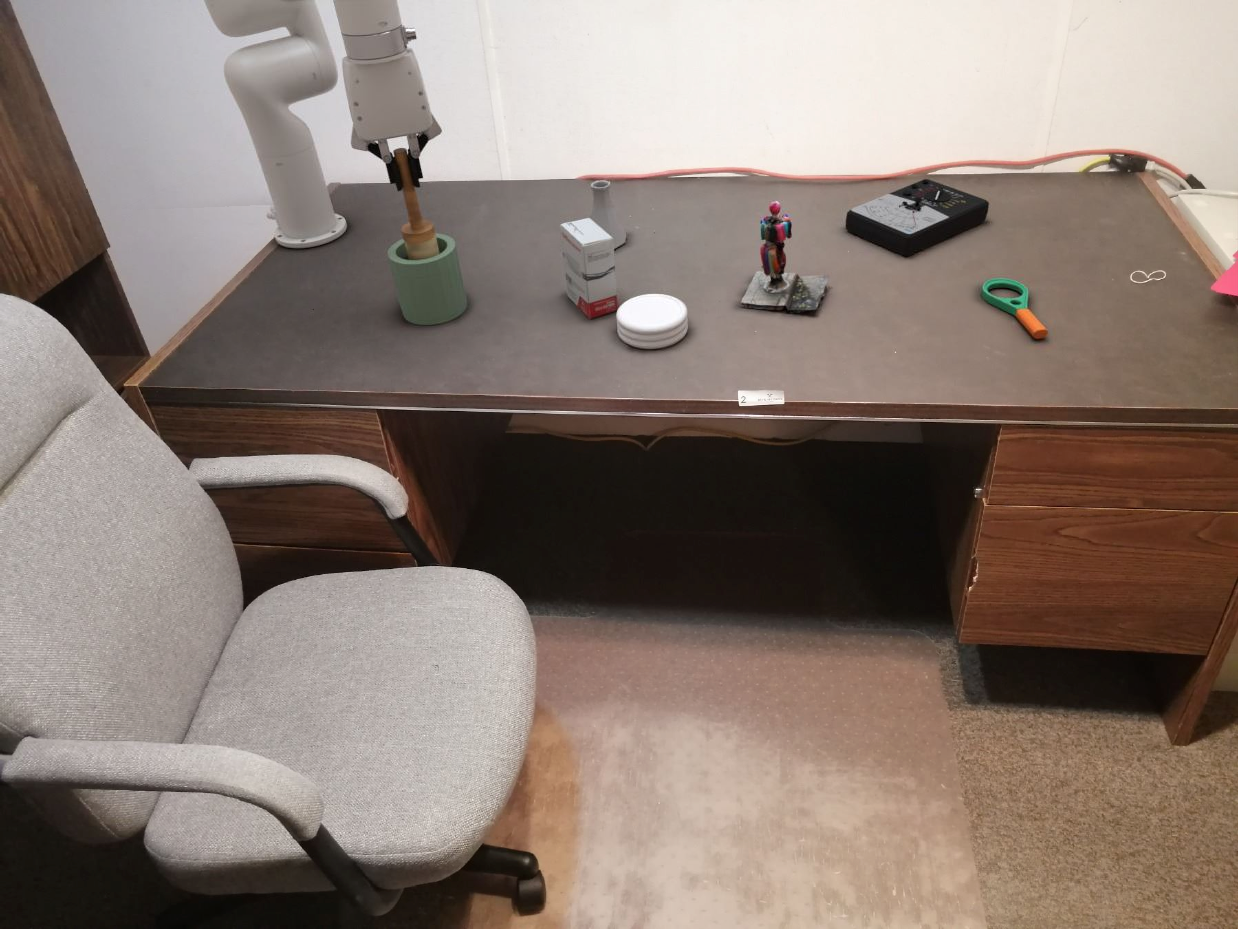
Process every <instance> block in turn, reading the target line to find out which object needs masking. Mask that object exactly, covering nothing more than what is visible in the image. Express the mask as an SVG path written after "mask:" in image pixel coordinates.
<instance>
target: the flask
mask: <svg viewBox="0 0 1238 929" xmlns="http://www.w3.org/2000/svg"><path fill="white" fill-rule="evenodd" d="M610 188H611V181H609V180H605V179H604V180H595V181H593V182H591V184H590V189H591V191H592V194H593V195H592V197H593V200H592V210H591V215H590V217H589V218H590V219H591V220H592V221H593V222H595V223H596V224H597V225H598V226H599V227H601V228H602V229H603V230H604V231H605V232H606V233H608V234H609V235H610V236H611V237H612V238H613V242H614V250H615V249H617V248H618V247H620V246H622V245H623V244H625V243H626V240H627V233H626V230H625V229H624V227H623V225H622V222H621V221H620V219H619V217H618V214H617V212H616V210H615V207H614V205H613V201H612V198H611V194H610Z"/></svg>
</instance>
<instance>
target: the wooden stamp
mask: <svg viewBox="0 0 1238 929" xmlns="http://www.w3.org/2000/svg"><path fill="white" fill-rule="evenodd" d="M392 154H393V157H395V160H396V163H397V167H398V172H399V176H400V180H401V184H402V190H401V191H402V192H401V193H402V195H403V200H404V205H405V208H406V212H407V217H408V221H409V222H407V223H405V224H403V226H401V228H400V230H401V236H402V239H404V243H405V247H406V252H407V256H408V259H409V260H423V259H428V258H432V257H434V256H437V255H439V254H440V252H439V248H438V243H437V239H436V234H435V233H436V229H435V225H434V223H433V222H432V220H427V219H423V217H422V213H421V207H420V202H419V199H418V195H417V190H416V187H415V186H414V182H413V177H412V173H411V169H410V164H409V160H408V149H407V148H405V147H398V148H395V149H394V150H393V151H392Z"/></svg>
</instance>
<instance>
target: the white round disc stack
mask: <svg viewBox="0 0 1238 929" xmlns="http://www.w3.org/2000/svg"><path fill="white" fill-rule="evenodd" d="M615 318H616V327H617V328H616V331H617V334H618V337H619V339H620V340H621V341H622V342H624V343H625V344H627V345H629V346H631V347H634V348H638V349H644V350H656V349H663V348H666V347H670V346H672V345H675V344H676V343H678V342H679V341H681V340H682V339H683V338H685V336H686V334H687V332H688V329H689V325H688V324H689V323H688V322H689V320H688V319H689V318H688V308H687V306H686V304H685V303H684V302H683V301H682V300H680V299H679V298H677V297H675V296H672V295H668V294H662V293H647V294H641V295H638V296H634V297H631V298H629V299H627V300H626V301H624V302H623V303H621V305H620V306H619V307H618V310H617V311H616V315H615Z"/></svg>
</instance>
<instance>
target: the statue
mask: <svg viewBox="0 0 1238 929" xmlns="http://www.w3.org/2000/svg"><path fill="white" fill-rule="evenodd" d="M781 209H782V208H781V204H780V202H779V201H778V200H775V201H772V202H771V203H770V204H769V206H768V210H769V212H770V215H766V216H764V217H763V218H761V219H760V221H759V222H760V240H761V241H765V242H764V243H763V244H761V246H760V248H759V252H760V259H761V263H762V265H761V268H762V270H763V271H759V270H756V272H755V273H754V276H753V278H752V279H751V282H750V283H749V286H748V287H747V289H746V291H745V293H744V295H743V297H742V299H741V300H740V303H741V305H740V308H746V309H748V308H752V309H755V310H763V309H765V310H770V311H771V310H775V311H781V310H783V309H784V307H786V309H787V314H795V313H796V314H799V313H804V312H806V311H810V313H812V312H813V310H817V308H818V306H819V304H821V303H822V302H823V301H822V300H821V298H822V297H825V294H826V292H824V291H825V288H826V286H828V281H829V278H830V275H829V274H827V275H826V274H820V275H819V274H818V275H805V276H804V275H803V276H799V274H798V272H785V268H786V265H787V255H786V253H785V251H784V248H785V246H786V244H785V241H787V240H788V239H789V240H790V239H791V238H792V237H793V234H792V226H793V223H792V221H791V219H790V218H789V216H788V214H787V213H785V214H783V215H782V216H781V214H780V212H781Z"/></svg>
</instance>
